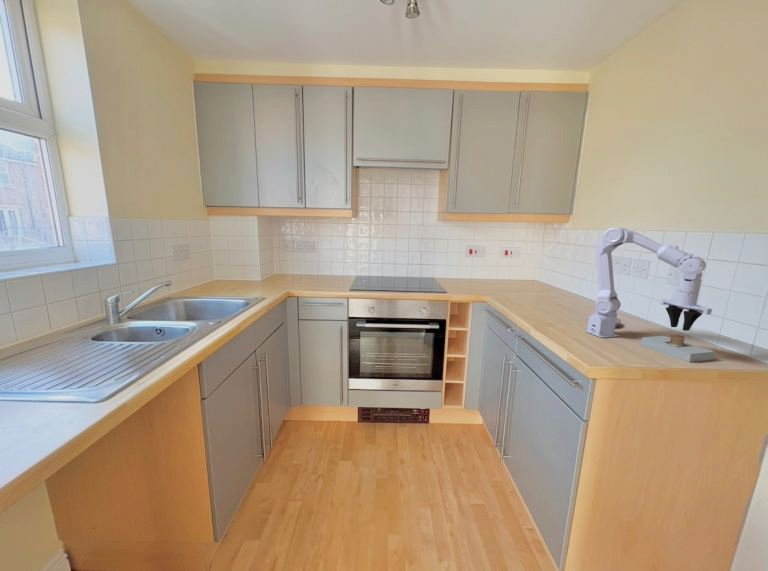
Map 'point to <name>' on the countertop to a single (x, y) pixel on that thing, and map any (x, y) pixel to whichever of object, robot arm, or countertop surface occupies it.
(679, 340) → the walnut peg
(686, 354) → the grey board
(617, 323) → the stone block
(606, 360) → the countertop surface
